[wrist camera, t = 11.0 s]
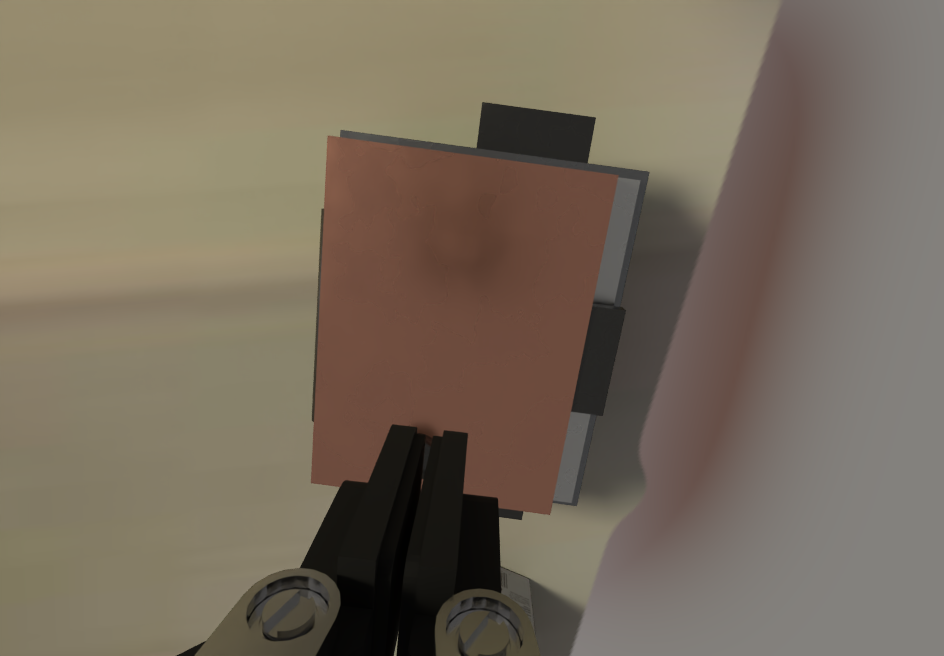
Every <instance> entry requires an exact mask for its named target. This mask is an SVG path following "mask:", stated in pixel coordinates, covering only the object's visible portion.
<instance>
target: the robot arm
mask: <svg viewBox="0 0 944 656" xmlns="http://www.w3.org/2000/svg"><path fill="white" fill-rule="evenodd" d="M425 441H426V435H424V434H417V427H413V426H404V425H395V424H392V425H391V427H390V430H389V432H388V435H387V437H386V440H385V442H384V445H383V447H382V450H381V452H380V454H379V457H378V459H377V462H376V464H375V467H374V469H373V472H372V474H371V476H370V479H369V481H368V483H367V482H358V481H349V480H345V481H343V483H342V484H341V486H340V488H339V490H338V492H337V494H336V496H335V498H334V500H333V502H332V504H331V506H330V508H329V510H328V512H327V514H326V516H325V518H324V520H323V522H322V524H321V526H320V528H319V530H318V532H317V535H316V537H315V539H314V541H313V543H312V545H311V547H310V549H309V551H308V553H307V555H306V557H305V559H304V561H303V563H302V565H301V567H300V568H295V569H287V570H282V571H279V572H277V573H274V574H271V575H268V576H267V577H265V578H263V579H262V580H260V581H258V582H257V583H255V584H254V585H253V586H252V587H251V588H250V589H249V590H248V591H247V592H246V593H245V594H244V595H243V596H242V597H241V598H240V600H239V601H238V602H237V603H236V605H235V606H234V607H233V608H232V610H231V611H230V612H229V613H228V615H227V616H226V617H225V618H224V619H223V621H222V622H221V623H220V624H219V626H218V627H217V628H216V629H215V631H214V632H213V633H212V634H211V636H210V637H209V638H208V639H207V641H205V642H203V643H201V644H199V645H197V646H195V647H193V648H191V649H189V650H187V651H185V652H183V653H181V654H179V655H177V656H394V651H395V646H396V641H397V636H398V645H397V656H541V655H540V651H539V648H538V644H537V640H536V636H535V633H534V629H533V626H532V624H531V622H530V620H529V617H528V615H527V614H526V613H525V611H524V610H523V609H522V608H521V607H520V606H519V604H518V603H516V602H515V601H513V600H512V599H510V598H509V597H508V596H506V595H504V594H501V568H500V537H499V506H498V498H497V497H488V496H479V495H471V494H463V489H464V477H465V465H466V453H467V441H468V433H465V432H456V431H447V430H444V432H443V437H442V436H433V439H432V443H431V448H430V452H429V457H428V461H427V466H426V470H425V475H424V479H423V484H422V473H423V462H424V452H425ZM421 484H422V488H421ZM398 631H399V634H398Z"/></svg>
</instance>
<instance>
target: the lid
mask: <svg viewBox="0 0 944 656" xmlns="http://www.w3.org/2000/svg"><path fill="white" fill-rule="evenodd" d="M618 176H619V175H614V174H606V173H599V172H592V171H584V170H577V169H570V168H562V167H555V166H548V165H540V164H533V163H525V162H518V161H511V160H503V159H496V158H489V157H481V156H474V155H467V154H459V153H452V152H445V151H437V150H430V149H423V148H415V147H408V146H400V145H393V144H386V143H378V142H371V141H364V140H356V139H349V138H342V137H334V136H328V140H327V160H326V181H325V202H324V209H322V210H321V232H320V253H319V275H318V296H317V318H316V339H315V361H314V382H313V404H312V421H313V422H314V432H313V453H312V473H311V483H314V484H322V485H329V486H337V487H340V486H341V484H342V483H343V481H345V480H349V481H358V482H367V483H368V481H369V479H370V476H371V474H372V472H373V469H374V467H375V464H376V462H377V459H378V457H379V454H380V452H381V450H382V447H383V445H384V442H385V440H386V437H387V435H388V432H389V430H390V427H391V425H392V424H395V425H404V426H413V427H417V434H424V435H426V441H425V452H424V462H423V473H422V484H423V479H424V475H425V470H426V466H427V461H428V457H429V452H430V448H431V443H432V439H433V436H442V437H443V432H444V430H447V431H456V432H465V433H468V441H467V453H466V465H465V477H464V489H463V494H471V495H479V496H488V497H497V498H498V506H499V508H503V509H510V510H518V511H525V512H533V513H540V514H548V515H550V513H551V508H552V503H553V498H554V493H555V488H556V483H557V478H558V473H559V468H560V463H561V458H562V453H563V448H564V443H565V439H566V434H567V429H568V424H569V419H570V414H571V412H577V413H584V414H592V415H599V416H603V411H604V407H605V402H606V398H607V393H608V389H609V384H610V379H611V375H612V370H613V366H614V361H615V357H616V352H617V348H618V343H619V339H620V334H621V330H622V325H623V321H624V316H625V312H626V310H624V309H623V308H622V307H616V306H609V305H602V304H594V303H593V300H594V295H595V290H596V285H597V280H598V275H599V270H600V265H601V260H602V255H603V250H604V245H605V240H606V235H607V230H608V226H609V221H610V216H611V211H612V206H613V201H614V196H615V191H616V186H617V181H618ZM422 484H421V488H422Z"/></svg>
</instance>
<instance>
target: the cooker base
mask: <svg viewBox="0 0 944 656" xmlns="http://www.w3.org/2000/svg"><path fill="white" fill-rule="evenodd" d="M595 119H596V118H595V117H588V116H580V115H573V114H566V113H558V112H551V111H543V110H536V109H529V108H521V107H514V106H507V105H499V104H492V103H485V102H482V110H481V118H480V126H479V134H478V142H477V148H470V147H463V146H455V145H448V144H441V143H433V142H426V141H418V140H411V139H404V138H396V137H389V136H382V135H374V134H367V133H360V132H352V131H345V130H341V132H340V137H342V138H349V139H356V140H364V141H371V142H378V143H386V144H393V145H400V146H408V147H415V148H423V149H430V150H437V151H445V152H452V153H459V154H467V155H474V156H481V157H489V158H496V159H503V160H511V161H518V162H525V163H533V164H540V165H548V166H555V167H562V168H570V169H577V170H584V171H592V172H599V173H606V174H614V175H619V176H618V181H617V186H616V191H615V196H614V201H613V206H612V211H611V216H610V221H609V226H608V230H607V235H606V240H605V245H604V250H603V255H602V260H601V265H600V270H599V275H598V280H597V285H596V290H595V295H594V300H593V303H594V304H602V305H609V306H616V307H620V305H621V300H622V296H623V291H624V286H625V282H626V277H627V273H628V268H629V263H630V259H631V254H632V250H633V245H634V240H635V236H636V231H637V227H638V222H639V217H640V213H641V208H642V204H643V199H644V195H645V190H646V185H647V181H648V176H649V172H647V171H639V170H632V169H625V168H617V167H610V166H603V165H595V164H588V157H589V152H590V147H591V141H592V136H593V130H594V125H595ZM595 420H596V415H592V414H584V413H577V412H571V414H570V419H569V424H568V429H567V434H566V439H565V443H564V448H563V453H562V458H561V463H560V468H559V473H558V478H557V483H556V488H555V493H554V498H553V503H558V504H565V505H572V506H577V502H578V498H579V493H580V489H581V484H582V479H583V475H584V470H585V466H586V461H587V456H588V452H589V447H590V443H591V438H592V433H593V429H594V424H595ZM522 516H523V511H518V510H510V509H503V508H499V517H503V518H511V519H518V520H522Z"/></svg>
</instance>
